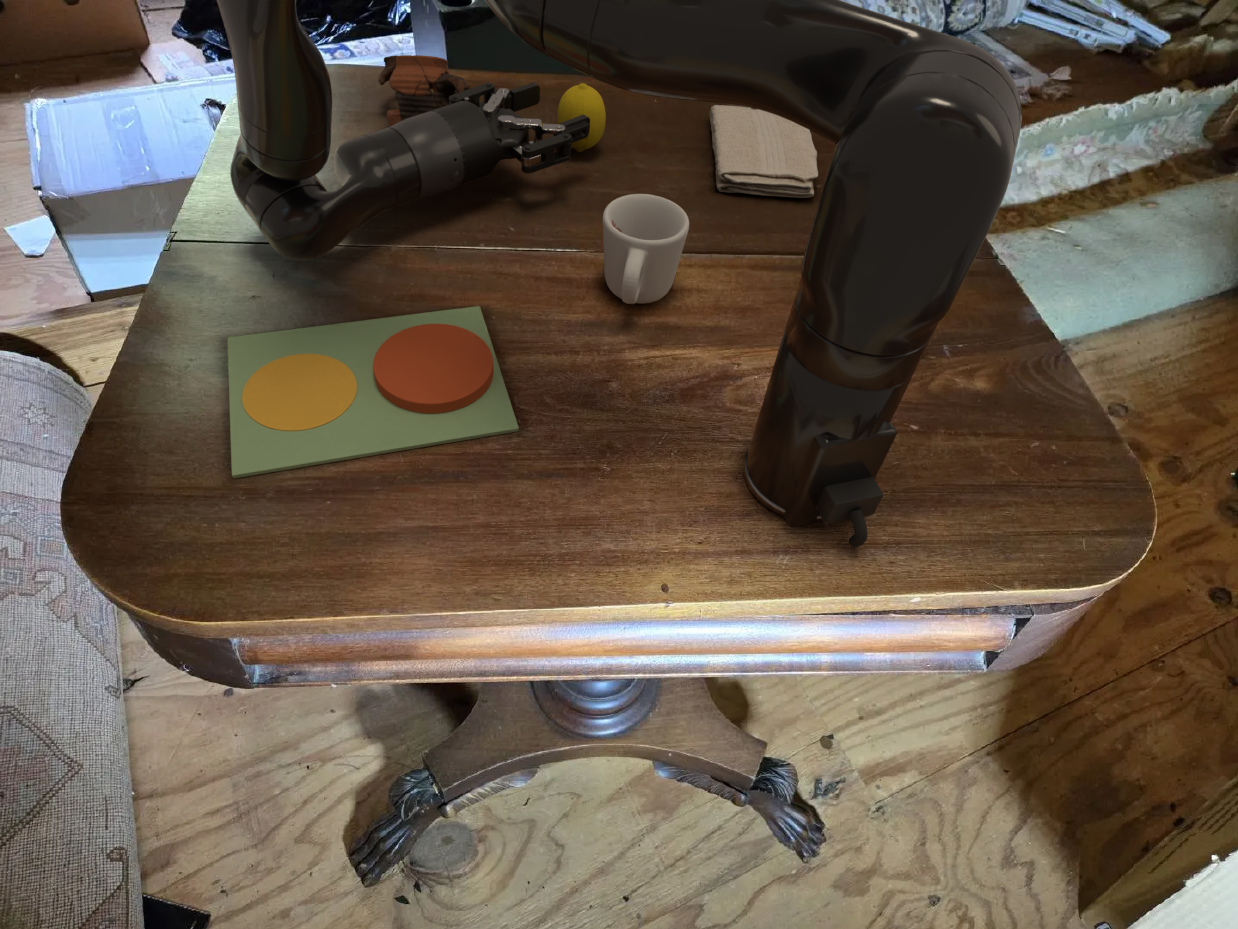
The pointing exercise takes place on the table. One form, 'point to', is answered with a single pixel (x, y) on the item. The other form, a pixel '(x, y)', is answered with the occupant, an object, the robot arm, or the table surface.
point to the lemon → (583, 112)
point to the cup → (642, 246)
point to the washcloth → (761, 153)
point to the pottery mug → (419, 84)
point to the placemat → (363, 390)
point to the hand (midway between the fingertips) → (562, 108)
